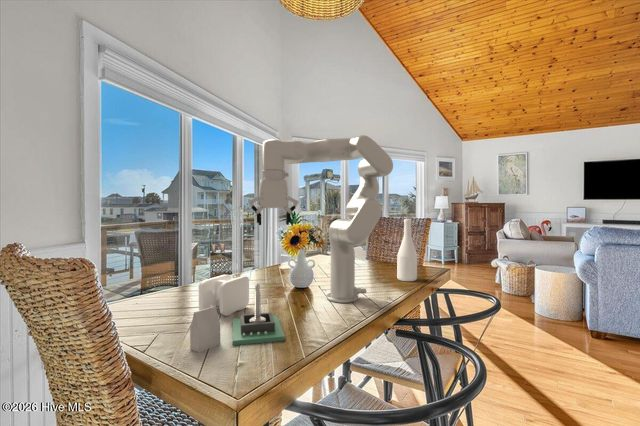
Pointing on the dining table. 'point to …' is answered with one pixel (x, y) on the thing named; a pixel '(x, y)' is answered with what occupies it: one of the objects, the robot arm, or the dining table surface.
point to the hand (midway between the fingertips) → (273, 224)
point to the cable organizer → (224, 293)
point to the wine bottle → (407, 256)
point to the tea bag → (205, 329)
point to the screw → (257, 307)
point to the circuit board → (257, 330)
